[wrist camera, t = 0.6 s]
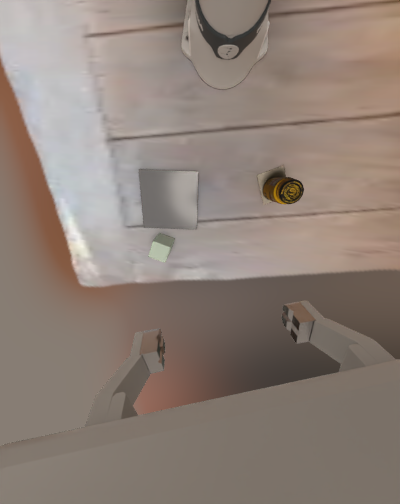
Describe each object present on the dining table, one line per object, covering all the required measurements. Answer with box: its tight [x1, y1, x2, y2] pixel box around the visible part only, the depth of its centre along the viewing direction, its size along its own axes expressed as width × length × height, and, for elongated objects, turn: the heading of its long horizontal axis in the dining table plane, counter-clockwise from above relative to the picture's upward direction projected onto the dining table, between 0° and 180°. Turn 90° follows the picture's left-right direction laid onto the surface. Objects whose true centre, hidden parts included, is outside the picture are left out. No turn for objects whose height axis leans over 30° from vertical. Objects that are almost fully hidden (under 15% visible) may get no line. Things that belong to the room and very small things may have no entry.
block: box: [148, 233, 175, 263], centre depth 54 cm, size 5×5×8 cm
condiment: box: [257, 165, 304, 205], centre depth 45 cm, size 7×8×12 cm
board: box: [139, 169, 198, 229], centre depth 52 cm, size 16×16×1 cm
